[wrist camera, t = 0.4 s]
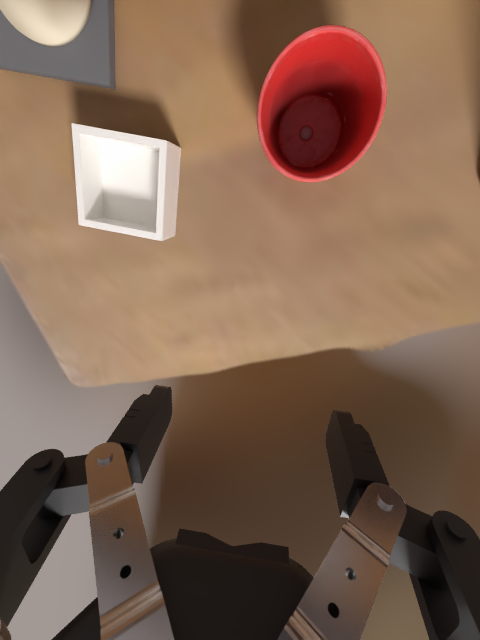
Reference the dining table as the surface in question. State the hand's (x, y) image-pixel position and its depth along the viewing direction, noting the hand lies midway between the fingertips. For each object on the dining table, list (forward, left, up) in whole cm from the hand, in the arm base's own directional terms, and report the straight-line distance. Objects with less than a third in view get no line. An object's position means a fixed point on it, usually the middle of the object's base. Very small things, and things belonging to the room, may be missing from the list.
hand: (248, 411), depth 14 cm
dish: (-8, -19, -28) cm, 34 cm away
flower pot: (-17, +1, -28) cm, 33 cm away
